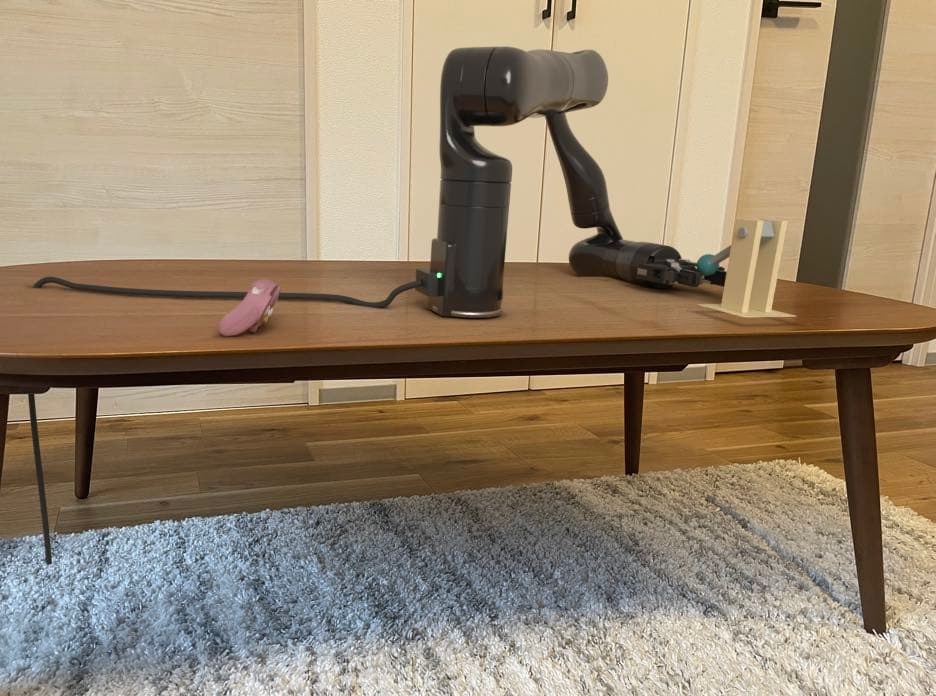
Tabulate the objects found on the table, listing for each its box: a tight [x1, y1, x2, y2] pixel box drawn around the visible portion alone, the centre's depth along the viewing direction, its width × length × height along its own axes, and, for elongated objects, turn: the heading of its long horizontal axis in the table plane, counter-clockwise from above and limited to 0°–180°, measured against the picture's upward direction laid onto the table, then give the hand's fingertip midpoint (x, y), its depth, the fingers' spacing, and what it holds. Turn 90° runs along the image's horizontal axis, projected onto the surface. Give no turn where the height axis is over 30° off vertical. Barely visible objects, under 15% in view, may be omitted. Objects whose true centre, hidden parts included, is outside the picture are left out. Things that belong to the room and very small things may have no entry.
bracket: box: [696, 217, 796, 318], centre depth 109 cm, size 10×9×14 cm
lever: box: [696, 220, 774, 276], centre depth 113 cm, size 14×3×3 cm
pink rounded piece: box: [217, 278, 282, 337], centre depth 89 cm, size 10×5×7 cm, turn 179°
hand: (713, 280), depth 117 cm, fingers open, 5 cm apart
